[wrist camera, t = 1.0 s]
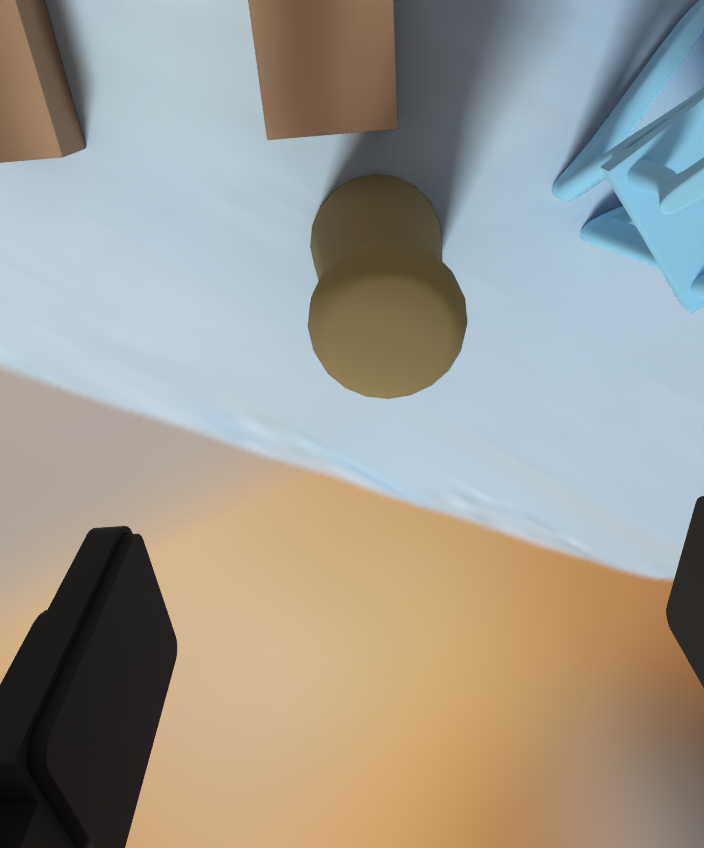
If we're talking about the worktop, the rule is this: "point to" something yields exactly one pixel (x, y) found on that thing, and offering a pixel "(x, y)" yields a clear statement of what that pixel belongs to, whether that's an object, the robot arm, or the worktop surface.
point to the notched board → (276, 61)
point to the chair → (651, 173)
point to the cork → (383, 290)
